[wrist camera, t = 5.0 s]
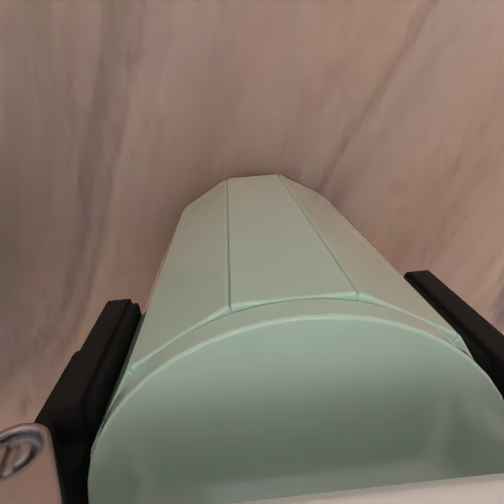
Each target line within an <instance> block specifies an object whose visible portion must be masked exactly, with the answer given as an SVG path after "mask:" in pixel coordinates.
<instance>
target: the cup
mask: <svg viewBox="0 0 504 504" xmlns="http://www.w3.org/2000/svg"><path fill="white" fill-rule="evenodd" d="M90 458H91V459H90V465H89V472H88V479H87V485H88V503H89V504H231V503H240V502H248V501H256V500H265V499H274V498H283V497H291V496H300V495H309V494H317V493H326V492H335V491H344V490H353V489H361V488H370V487H379V486H388V485H397V484H406V483H415V482H424V481H434V480H443V479H452V478H461V477H471V476H480V475H489V474H499V473H504V400H503V397H502V395H501V393H500V392H499V390H498V389H497V387H496V386H495V384H494V383H493V381H492V380H491V378H490V377H489V376H488V374H487V373H486V372H485V371H484V370H483V369H482V368H481V367H480V366H479V365H478V364H477V363H476V362H475V361H474V359H473V357H472V355H471V353H470V351H469V350H468V348H467V346H466V344H465V342H464V341H463V339H462V337H461V336H460V335H459V334H458V333H457V332H456V331H455V330H454V329H453V328H452V327H451V326H450V325H449V324H448V323H447V322H446V321H445V320H444V319H443V318H442V317H441V315H440V314H439V313H438V312H437V311H436V310H435V309H434V308H433V307H432V306H431V305H430V304H429V303H428V302H427V301H426V300H425V299H424V298H423V297H422V296H421V295H420V294H419V293H418V292H417V291H416V290H415V289H414V288H413V287H412V286H411V285H410V284H409V283H408V282H407V281H406V280H405V279H404V278H403V277H402V276H401V275H400V274H399V273H398V272H397V271H396V270H395V269H394V267H393V266H392V265H391V264H390V263H389V262H388V261H387V260H386V259H385V258H384V257H383V256H382V255H381V254H380V253H379V252H378V251H377V250H376V249H375V248H374V247H373V246H372V245H371V244H370V243H369V242H368V241H367V240H366V239H365V238H364V237H363V236H362V235H361V234H360V233H359V232H358V231H357V230H356V229H355V228H354V227H353V226H352V225H351V224H350V223H349V222H348V221H347V219H346V218H345V217H344V216H343V215H342V214H341V213H340V212H339V211H338V210H337V209H336V208H335V207H334V206H333V205H332V204H331V203H330V202H329V201H328V200H327V199H326V198H325V197H324V196H323V195H321V194H319V193H317V192H315V191H313V190H311V189H309V188H307V187H305V186H302V185H300V184H298V183H296V182H294V181H292V180H290V179H288V178H286V177H284V176H282V175H279V176H278V174H273V175H262V176H250V177H239V178H228V179H227V180H224V181H222V182H221V183H219V184H218V185H217V186H215V187H214V188H212V189H211V190H209V191H208V192H207V193H205V194H204V195H202V196H201V197H199V198H198V199H197V200H195V201H194V202H192V203H191V204H189V205H188V206H187V207H186V208H185V209H184V210H183V212H182V214H181V217H180V219H179V221H178V224H177V226H176V228H175V231H174V233H173V235H172V238H171V240H170V242H169V245H168V247H167V249H166V252H165V254H164V257H163V260H162V262H161V265H160V268H159V270H158V273H157V275H156V278H155V281H154V283H153V286H152V289H151V291H150V294H149V297H148V299H147V302H146V305H145V307H144V310H143V312H142V315H141V318H140V320H139V323H138V326H137V328H136V331H135V334H134V336H133V339H132V342H131V344H130V347H129V350H128V352H127V355H126V357H125V360H124V363H123V365H122V368H121V371H120V373H119V376H118V379H117V381H116V384H115V387H114V389H113V392H112V394H111V397H110V400H109V402H108V405H107V408H106V410H105V413H104V416H103V418H102V421H101V424H100V426H99V429H98V432H97V434H96V437H95V439H94V442H93V445H92V447H91V455H90Z"/></svg>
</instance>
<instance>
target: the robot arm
mask: <svg viewBox="0 0 504 504" xmlns="http://www.w3.org/2000/svg"><path fill="white" fill-rule="evenodd" d="M404 279H405V280H406V281H407V282H408V283H409V284H410V285H411V286H412V287H413V288H414V289H415V290H416V291H417V292H418V293H419V294H420V295H421V296H422V297H423V298H424V299H425V300H426V301H427V302H428V303H429V304H430V305H431V306H432V307H433V308H434V309H435V310H436V311H437V312H438V313H439V314H440V315H441V317H442V318H443V319H444V320H445V321H446V322H447V323H448V324H449V325H450V326H451V327H452V328H453V329H454V330H455V331H456V332H457V333H458V334H459V335H460V336H461V337H462V339H463V341H464V342H465V344H466V346H467V348H468V350H469V351H470V353H471V355H472V357H473V359H474V361H475V362H476V363H477V364H478V365H479V366H480V367H481V368H482V369H483V370H484V371H485V372H486V373H487V374H488V376H489V377H490V378H491V380H492V381H493V383H494V384H495V386H496V387H497V389H498V390H499V392H500V393H501V395H502V397H503V400H504V335H503V334H501V333H500V332H499V331H498V330H497V329H496V328H494V327H493V326H492V325H491V324H490V323H489V322H488V321H486V320H485V319H484V318H483V317H482V316H481V315H479V314H478V313H477V312H476V311H475V310H474V309H472V308H471V307H470V306H469V305H468V304H467V303H466V302H464V301H463V300H462V299H461V298H460V297H459V296H457V295H456V294H455V293H454V292H453V291H452V290H450V289H449V288H448V287H447V286H446V285H445V284H444V283H442V282H441V281H440V280H439V279H438V278H437V277H435V276H434V275H433V274H432V273H431V272H430V271H428V270H426V271H415V272H407V273H406V274H405V275H404ZM140 318H141V311H140V307H139V305H138V303H135V304H132V301H131V300H130V299H123V300H113V301H108V302H107V304H106V305H105V307H104V309H103V311H102V312H101V314H100V316H99V318H98V320H97V321H96V323H95V325H94V327H93V328H92V330H91V332H90V334H89V335H88V337H87V339H86V341H85V342H84V344H83V346H82V348H81V350H80V351H77V352H75V354H74V355H73V356H72V358H71V360H70V361H69V363H68V365H67V367H66V368H65V370H64V372H63V373H62V375H61V377H60V379H59V380H58V382H57V384H56V385H55V387H54V389H53V391H52V392H51V394H50V396H49V397H48V399H47V401H46V403H45V404H44V406H43V408H42V409H41V411H40V413H39V415H38V416H37V418H36V420H35V421H34V423H24V424H19V425H15V426H12V427H9V428H7V429H5V430H3V431H1V432H0V504H89V503H88V485H87V479H88V472H89V465H90V459H91V458H90V455H91V447H92V445H93V442H94V439H95V437H96V434H97V432H98V429H99V426H100V424H101V421H102V418H103V416H104V413H105V410H106V408H107V405H108V402H109V400H110V397H111V394H112V392H113V389H114V387H115V384H116V381H117V379H118V376H119V373H120V371H121V368H122V365H123V363H124V360H125V357H126V355H127V352H128V350H129V347H130V344H131V342H132V339H133V336H134V334H135V331H136V328H137V326H138V323H139V320H140ZM231 504H504V473H499V474H489V475H480V476H471V477H461V478H452V479H443V480H434V481H424V482H415V483H406V484H397V485H388V486H379V487H370V488H361V489H353V490H344V491H335V492H326V493H317V494H309V495H300V496H291V497H283V498H274V499H265V500H256V501H248V502H240V503H231Z"/></svg>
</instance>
